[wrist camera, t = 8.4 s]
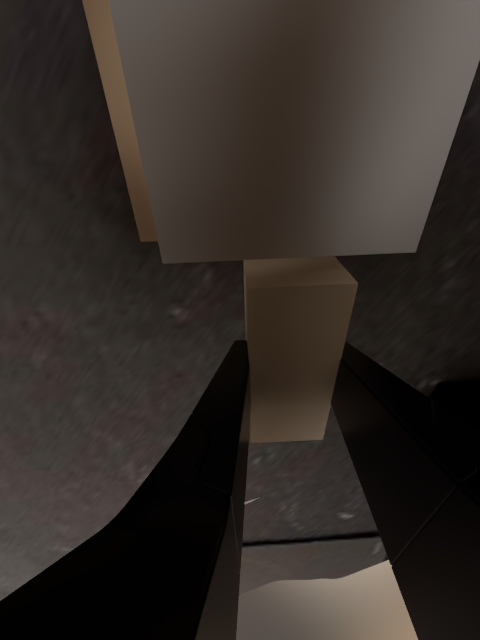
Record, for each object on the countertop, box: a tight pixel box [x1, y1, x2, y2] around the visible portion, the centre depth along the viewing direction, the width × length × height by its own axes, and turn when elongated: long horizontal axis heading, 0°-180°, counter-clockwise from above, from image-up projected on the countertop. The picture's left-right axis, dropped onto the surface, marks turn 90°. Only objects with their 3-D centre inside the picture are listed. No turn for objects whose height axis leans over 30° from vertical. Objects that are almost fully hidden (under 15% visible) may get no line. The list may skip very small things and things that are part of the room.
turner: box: [109, 0, 480, 443], centre depth 7 cm, size 7×11×2 cm, turn 2°
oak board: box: [82, 0, 158, 242], centre depth 12 cm, size 14×18×2 cm
